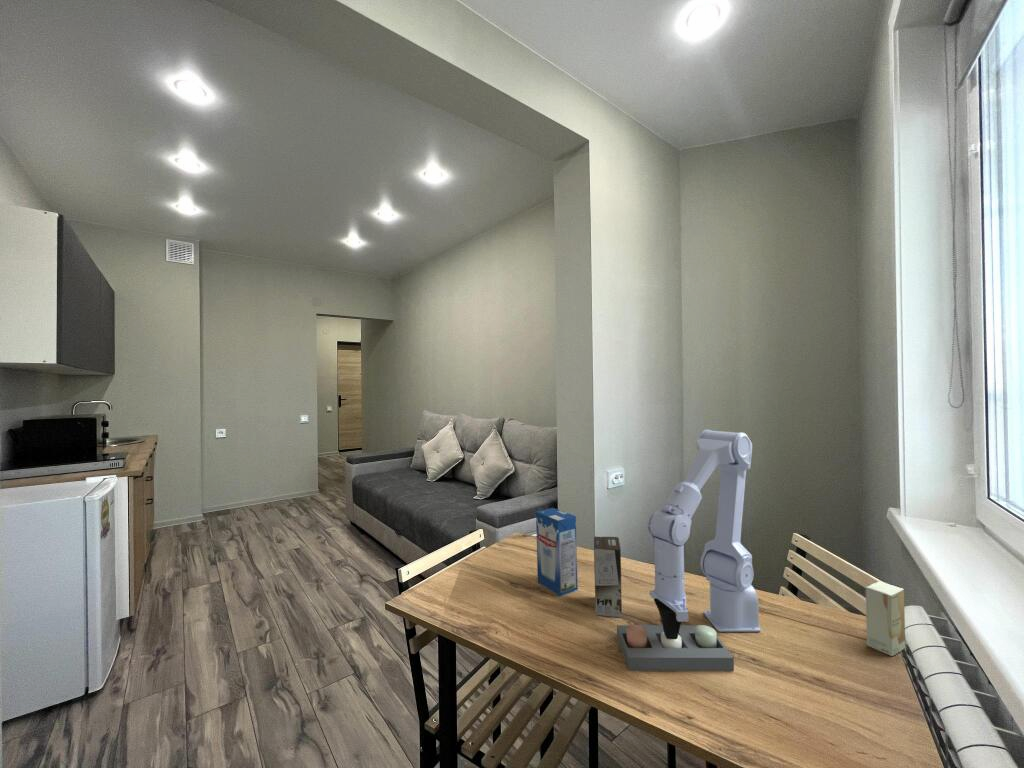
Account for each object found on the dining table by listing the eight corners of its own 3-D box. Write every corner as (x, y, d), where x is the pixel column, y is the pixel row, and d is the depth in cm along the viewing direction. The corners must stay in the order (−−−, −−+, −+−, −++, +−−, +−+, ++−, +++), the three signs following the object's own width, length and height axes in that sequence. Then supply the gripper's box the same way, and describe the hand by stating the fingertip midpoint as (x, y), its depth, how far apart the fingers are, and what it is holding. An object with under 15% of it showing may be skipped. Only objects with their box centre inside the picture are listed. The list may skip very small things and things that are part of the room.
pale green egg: (711, 639, 88) (711, 625, 88) (720, 651, 84) (719, 636, 84) (692, 639, 88) (691, 625, 88) (699, 651, 84) (699, 636, 84)
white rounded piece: (677, 645, 88) (677, 631, 88) (684, 657, 84) (684, 642, 84) (658, 645, 89) (658, 631, 89) (664, 657, 85) (664, 642, 85)
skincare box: (892, 657, 83) (890, 596, 83) (865, 646, 87) (864, 587, 87) (907, 647, 86) (905, 588, 86) (880, 636, 90) (879, 579, 90)
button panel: (709, 636, 92) (709, 625, 92) (734, 670, 81) (733, 657, 81) (616, 636, 92) (616, 625, 92) (628, 670, 81) (628, 657, 81)
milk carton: (577, 590, 114) (576, 516, 114) (560, 596, 110) (558, 520, 110) (554, 576, 122) (553, 507, 122) (537, 582, 119) (535, 511, 119)
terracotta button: (644, 639, 89) (643, 625, 89) (649, 651, 85) (649, 636, 85) (625, 639, 89) (624, 625, 89) (629, 651, 85) (629, 636, 85)
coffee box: (622, 618, 100) (621, 550, 100) (595, 615, 101) (593, 548, 101) (620, 598, 109) (619, 536, 109) (595, 596, 110) (593, 535, 110)
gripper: (640, 557, 94) (641, 617, 94) (660, 588, 79) (662, 660, 79) (672, 556, 94) (673, 617, 94) (698, 588, 79) (700, 660, 79)
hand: (671, 637), depth 86 cm, fingers closed, pressing on white rounded piece
